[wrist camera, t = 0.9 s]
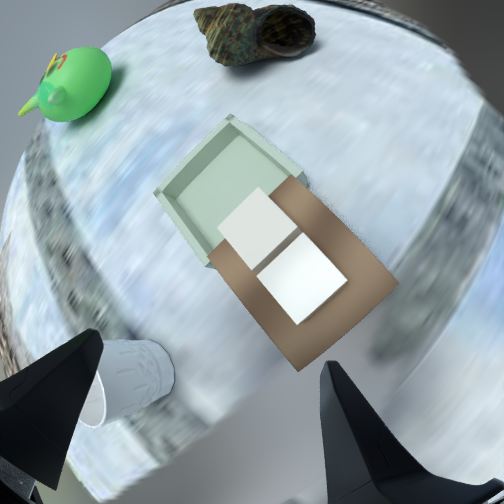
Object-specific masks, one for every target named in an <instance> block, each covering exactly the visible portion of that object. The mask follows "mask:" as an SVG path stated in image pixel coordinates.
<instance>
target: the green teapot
mask: <svg viewBox="0 0 504 504" xmlns="http://www.w3.org/2000/svg"><path fill="white" fill-rule="evenodd" d="M56 57H57V53H56V54H55V55H54V57H53V58H52V60H51V62H50V64H49V66H48V68H47V70H46V72H45V74H44V76H43V77H42V79H41V81H40V85H39V88H38V92H37V93H36V94H35V95H34V96H33V97H32V98H31V99H30V100H29V101H28V102H27V103H26V104H25V106H24V107H23V108H22V109H21V110H20V112H19V114H18V116H23V115H25V114H26V113H28V112H30V111H32V110H34V109H36V108H39V110H40V112H41V113H42V114H43V115H44V116H45V117H46V118H47V119H49V120H52V121H55V122H68V121H72V120H76V119H78V118H80V117H82V116H84V115H85V114H87V113H88V112H89V111H90V110H92V109H93V108H94V107H95V106H96V105H97V103H98V102H99V101H100V100H101V98H102V97H103V95H104V94H105V92H106V90H107V88H108V86H109V83H110V80H111V75H112V67H111V62H110V60H109V58H108V56H107V55H106V54H105V53H104V52H103V51H102V50H100V49H98V48H95V47H79V48H75V49H72V50H70V51H68V52H66V53H64V54H63V55H61V56H60V57H59V58H58V59H56Z"/></svg>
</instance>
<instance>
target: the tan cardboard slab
mask: <svg viewBox="0 0 504 504" xmlns="http://www.w3.org/2000/svg"><path fill="white" fill-rule="evenodd" d="M268 197H269V198H270V199H271V200H272V201H273V202H274V203H275V204H276V205H277V206H278V207H279V208H280V209H281V210H282V211H283V212H284V213H285V214H286V215H287V216H288V217H289V218H290V219H291V220H292V221H293V222H294V223H295V224H296V225H297V226H298V228H299V229H300V230H301V231H302V233H304V234H305V235H306V236H307V237H308V238H309V239H310V240H311V241H312V242H313V243H314V244H315V245H316V246H317V247H318V249H319V250H320V251H321V252H322V253H323V254H324V255H325V256H326V257H327V258H328V259H329V260H330V261H331V263H332V264H333V265H334V266H335V267H336V268H337V269H338V270H339V271H340V272H341V274H342V275H343V276H344V277H345V278H346V279H347V281H348V282H347V283H346V284H345V285H344V286H343V287H342V288H341V289H340V290H339V291H338V292H337V293H336V294H334V295H333V296H332V297H331V298H330V299H329V300H328V301H327V302H326V303H324V304H323V305H322V306H321V307H320V308H319V309H318V310H317V311H315V312H314V313H313V314H312V315H311V316H310V317H309V318H307V319H306V320H305V321H304V322H303V323H300V324H298V325H297V324H296V323H295V322H294V321H293V320H292V318H291V317H290V316H289V315H288V314H287V312H286V311H285V310H284V309H283V308H282V306H281V305H280V304H279V303H278V302H277V300H276V299H275V298H274V297H273V296H272V294H271V293H270V292H269V291H268V290H267V288H266V287H265V286H264V285H263V284H262V282H261V281H260V280H259V279H258V277H257V275H258V274H259V273H260V272H256V271H252V270H251V269H250V268H249V267H248V265H247V264H246V263H245V262H244V260H243V259H242V258H241V257H240V256H239V254H238V253H237V252H236V251H235V249H234V248H233V247H232V246H231V245H230V243H229V242H228V241H227V240H226V238H225V239H224V240H223V241H222V242H221V243H220V244H219V245H218V246H217V247H216V248H215V249H214V250H213V251H212V252H211V253H210V254H209V255H208V256H207V258H208V259H209V260H210V262H211V263H212V264H213V266H214V267H215V268H216V270H217V271H218V272H219V274H220V275H221V276H222V278H223V279H224V280H225V281H226V283H227V284H228V285H229V287H230V288H231V289H232V291H233V292H234V293H235V295H236V296H237V297H238V298H239V300H240V301H241V302H242V304H243V305H244V306H245V307H246V309H247V310H248V311H249V312H250V314H251V315H252V316H253V318H254V319H255V320H256V321H257V323H258V324H259V325H260V326H261V328H262V329H263V330H264V331H265V333H266V334H267V335H268V336H269V338H270V339H271V340H272V341H273V343H274V344H275V345H276V346H277V347H278V349H279V350H280V351H281V352H282V354H283V355H284V356H285V357H286V358H287V360H288V361H289V362H290V363H291V364H292V366H293V367H294V368H295V369H296V370H297V372H299V371H300V370H301V369H303V368H304V367H306V366H307V365H308V364H309V363H311V362H312V361H313V360H315V359H316V358H317V357H318V356H320V355H321V354H322V353H323V352H325V351H326V350H327V349H328V348H330V347H331V346H332V345H333V344H334V343H335V342H337V341H338V340H339V339H340V338H342V337H343V336H344V335H345V334H346V333H347V332H348V331H350V330H351V329H352V328H353V327H354V326H355V325H356V324H358V323H359V322H360V321H361V320H362V319H363V318H364V317H365V316H366V315H367V314H369V313H370V312H371V311H372V310H373V309H374V308H375V307H376V306H377V305H378V304H379V303H380V302H381V301H382V300H383V299H384V298H385V297H386V296H387V295H388V294H389V293H390V292H391V291H392V290H393V289H394V288H395V287H396V286H397V285H398V284H399V282H398V281H397V280H396V279H395V278H394V276H393V275H392V274H391V273H390V272H389V271H388V270H387V269H386V268H385V266H384V265H383V264H382V263H381V262H380V261H379V260H378V259H377V258H376V257H375V255H374V254H373V253H372V252H371V251H370V250H369V249H368V248H367V247H366V246H365V245H364V244H363V243H362V242H361V241H360V240H359V239H358V238H357V237H356V236H355V234H354V233H353V232H352V231H351V230H350V229H349V228H348V227H347V226H346V225H345V224H344V223H343V222H342V221H341V220H340V219H339V218H338V217H337V216H336V215H335V214H334V213H333V212H331V211H330V210H329V209H328V208H327V207H326V206H325V205H324V204H323V203H322V202H321V201H320V200H319V199H318V198H317V197H316V196H315V195H314V194H313V193H311V192H310V191H309V190H308V189H307V188H306V187H305V186H304V185H303V184H302V183H301V182H299V181H298V180H297V179H296V178H295V177H294V176H293V175H292V174H291V175H289V176H288V177H287V178H286V179H285V180H284V181H283V182H282V183H281V184H280V185H279V186H278V187H277V188H276V189H275V190H274V191H273V192H272V193H271V194H270V195H268Z"/></svg>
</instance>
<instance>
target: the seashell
mask: <svg viewBox="0 0 504 504" xmlns="http://www.w3.org/2000/svg"><path fill="white" fill-rule="evenodd" d="M194 18H195V20H196V22H197V23H198V27H199V29H200V32H201V33H202V34H204V35H206V39H207V42H208V44H207V49H208V51H209V56H210V57H211V58H213V59H214V60H215V61H216V62H217V63H220V64H223V65H224V66H232V67H234V66H240V65H244V64H248V63H252V62H255V61H259V60H262V59H266V58H273V57H282V56H284V57H294V56H297V55H300V54H301V52H302V51H304V50H305V49H307V48H309V47H310V46H311V44H312V43H313V42H314V39H315V36H316V33H315V22H314V19H313V18H312V17H311V16H310V15H308V14H307V13H306V11H303V10H300V9H299V8H296V7H295V6H294V5H269V6H267V7H263V8H261V9H260V8H258V9H255V10H252V8H251V7H248V6H246V5H245V4H238V3H232V4H227V5H224V6H220V7H216V6H212V7H207V8H199V9H196V10H195V11H194Z"/></svg>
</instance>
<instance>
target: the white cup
mask: <svg viewBox="0 0 504 504" xmlns="http://www.w3.org/2000/svg"><path fill="white" fill-rule="evenodd" d="M67 341H69V340H67ZM67 341H65V342H64V343H66V342H67ZM102 341H103V343H104V349H103V352H102V355H101V358H100V362H99V365H98V368H97V371H96V375H95V378H94V380H93V383H92V385H91V388H90V390H89V393H88V395H87V398H86V400H85V403H84V405H83V408H82V411H81V413H80V416H79V419H78V420H79V421H80V422H81V423H82V424H84V425H85V426H87V427H89V428H99V427H101V426H104V425H106V424H109V423H111V422H113V421H116V420H118V419H120V418H123V417H125V416H127V415H130V414H132V413H134V412H136V411H138V410H140V409H142V408H144V407H146V406H148V405H150V404H152V402H154V401H156V400H159V399H161V398H162V397H164V396H165V395H167V394H168V393H170V391H171V389H172V386H173V384H174V367H173V365H172V363H171V360H170V358H169V355H168V354H167V353H166V351H165V350H164V349H163V348H162V347H161V346H160V345H159V344H157V343H155V342H153V341H151V340H102ZM64 343H63V344H64Z"/></svg>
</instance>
